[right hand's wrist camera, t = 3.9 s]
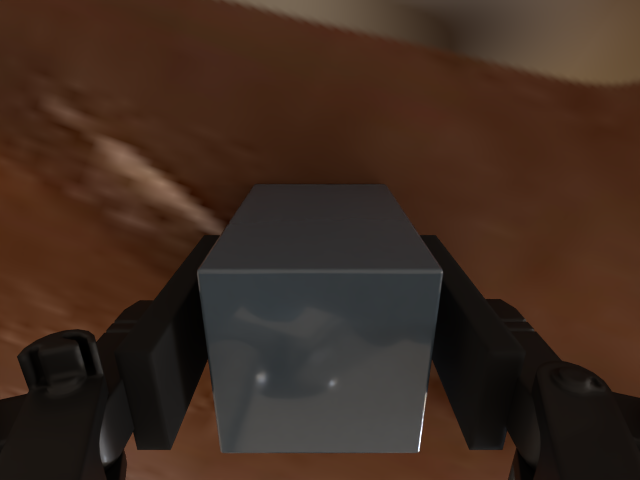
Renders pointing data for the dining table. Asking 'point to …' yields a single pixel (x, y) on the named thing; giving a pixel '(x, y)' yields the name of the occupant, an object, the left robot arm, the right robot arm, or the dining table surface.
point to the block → (319, 322)
